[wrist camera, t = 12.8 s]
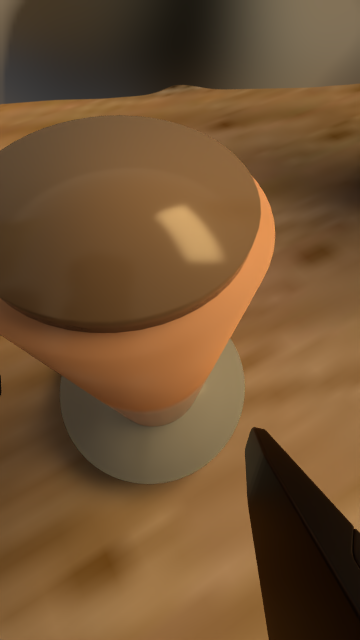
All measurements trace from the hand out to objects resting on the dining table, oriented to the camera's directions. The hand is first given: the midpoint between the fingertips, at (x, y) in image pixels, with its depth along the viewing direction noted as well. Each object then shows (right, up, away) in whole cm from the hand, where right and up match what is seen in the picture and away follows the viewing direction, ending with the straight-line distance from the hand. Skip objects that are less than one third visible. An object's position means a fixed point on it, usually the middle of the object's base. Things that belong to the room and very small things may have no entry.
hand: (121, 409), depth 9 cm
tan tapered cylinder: (0, -1, +8) cm, 8 cm away
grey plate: (0, -1, +10) cm, 10 cm away
